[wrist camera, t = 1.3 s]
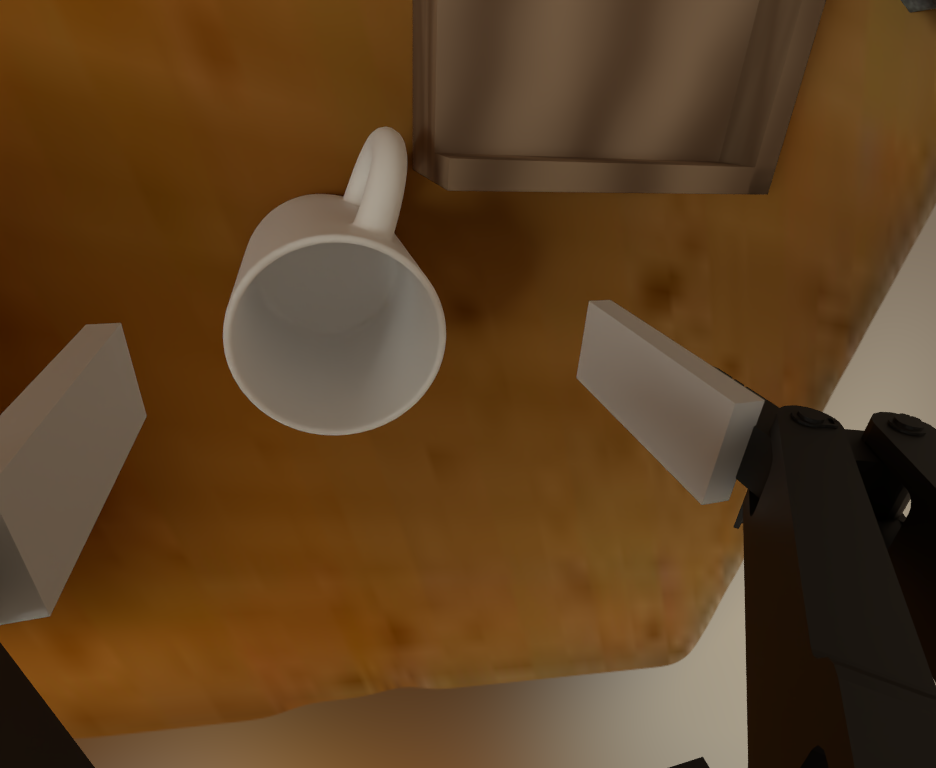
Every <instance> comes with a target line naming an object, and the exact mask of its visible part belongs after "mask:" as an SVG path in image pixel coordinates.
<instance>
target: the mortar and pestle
mask: <svg viewBox="0 0 936 768" xmlns="http://www.w3.org/2000/svg"><path fill="white" fill-rule="evenodd" d="M901 1H902V2H903V4H904V5H905V6H906V8H907V9H908V11H909V12H916V11H923V10H930V9H936V0H901Z"/></svg>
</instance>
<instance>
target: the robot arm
mask: <svg viewBox="0 0 936 768" xmlns="http://www.w3.org/2000/svg"><path fill="white" fill-rule="evenodd" d="M576 378H577V379H578V380H579V381H580V382H581V383H582V384H583V385H584V386H585V387H586V388H587V389H588V390H589V391H590V392H591V393H592V394H593V395H594V396H595V397H596V398H597V399H598V400H599V401H600V402H601V403H602V404H603V405H604V406H605V407H606V408H607V409H608V410H609V411H610V413H611V414H612V415H613V416H614V417H615V418H616V419H617V420H618V421H619V422H620V423H621V424H622V425H623V426H624V427H625V428H626V429H627V430H628V431H629V432H630V433H631V434H632V435H633V436H634V437H635V438H636V439H637V440H638V441H639V442H640V443H641V444H642V445H643V446H644V447H645V448H646V449H647V450H648V451H649V452H650V453H651V454H652V455H653V456H654V457H655V458H656V459H657V460H658V461H659V462H660V463H661V464H662V465H663V466H664V467H665V468H666V469H667V470H668V471H669V472H670V473H671V474H672V475H673V476H674V477H675V478H676V479H677V480H678V481H679V482H680V483H681V484H682V485H683V487H684V488H685V489H686V490H687V491H688V492H689V493H690V494H691V495H692V496H693V497H694V498H695V499H696V500H697V501H698V502H699V503H700V504H701V505H705V504H710V503H716V502H722V501H728V500H729V498H730V495H731V493H732V490H733V487H734V484H735V482H736V479H737V480H739V481H740V482H741V483H742V484H743V485H744V486H745V487H747V488H748V490H747V493H746V496H745V498H744V501H743V504H742V506H741V509H740V511H739V514H738V517H737V519H736V522H735V525H734V528H737V529H739V527H740V525H741V524H742V523H743V533H744V578H745V579H744V580H745V629H746V675H747V725H748V768H936V685H935V683H934V680H935V682H936V429H935V428H933V427H932V426H931V425H929V424H926V423H924V422H922V421H921V420H920V419H918V418H916V417H913V416H909V415H906V414H896V413H890V412H879V413H875V414H873V415H872V417H871V419H870V421H869V423H868V425H867V427H866V429H865V431H860V430H848V429H844V428H843V426H842V425H841V424H840V422H839V421H837V420H836V419H835V418H833V417H831V416H829V415H827V414H825V413H823V412H821V411H818V410H814V409H811V408H808V407H802V406H795V405H792V406H783V407H781V408H779V407H777V406H776V405H774V404H772V403H771V402H769V401H768V400H766V399H765V398H763V397H762V396H760V395H759V394H757V393H755V392H754V391H752V390H751V389H749V388H748V387H744V385H743V384H742V383H740V382H738V381H737V380H733V379H732V377H731V376H729V375H728V374H726V373H725V372H723V371H721V370H720V369H718V368H716V367H713V366H711V365H710V364H708V363H707V362H705V361H704V360H702V359H701V358H699V357H697V356H696V355H694V354H693V353H691V352H690V351H688V350H687V349H685V348H684V347H682V346H681V345H679V344H677V343H676V342H674V341H673V340H671V339H670V338H668V337H667V336H665V335H664V334H662V333H661V332H659V331H657V330H656V329H654V328H653V327H651V326H650V325H648V324H647V323H645V322H644V321H642V320H641V319H639V318H637V317H636V316H634V315H633V314H631V313H630V312H628V311H627V310H625V309H624V308H622V307H621V306H619V305H618V304H616V303H614V302H613V301H611V300H598V301H589V304H588V310H587V316H586V322H585V328H584V334H583V341H582V347H581V353H580V359H579V365H578V371H577V377H576ZM146 417H147V415H146V412H145V408H144V404H143V401H142V397H141V393H140V390H139V386H138V383H137V379H136V375H135V372H134V368H133V364H132V361H131V357H130V354H129V350H128V346H127V343H126V339H125V336H124V332H123V328H122V325H121V323H108V324H87V325H85V326H84V327H83V328H82V329H81V330H80V331H79V333H78V334H77V335H76V336H75V337H74V338H73V339H72V340H71V341H70V342H69V343H68V344H67V345H66V346H65V347H64V348H63V349H62V350H61V352H60V353H59V354H58V355H57V356H56V357H55V358H54V359H53V360H52V361H51V362H50V363H49V364H48V365H47V366H46V367H45V368H44V369H43V371H42V372H41V373H40V374H39V375H38V376H37V377H36V378H35V379H34V380H33V381H32V382H31V383H30V384H29V385H28V386H27V387H26V388H25V389H24V391H23V392H22V393H21V394H20V395H19V396H18V397H17V398H16V399H15V400H14V401H13V402H12V403H11V404H10V405H9V406H8V407H7V408H6V410H5V411H4V412H3V413H2V414H1V415H0V625H3V624H8V623H14V622H20V621H26V620H32V619H38V618H44V617H49V616H50V615H51V613H52V611H53V609H54V607H55V605H56V603H57V601H58V599H59V597H60V595H61V592H62V590H63V588H64V586H65V584H66V582H67V580H68V578H69V576H70V574H71V572H72V570H73V568H74V566H75V564H76V561H77V559H78V557H79V555H80V553H81V551H82V549H83V547H84V545H85V543H86V541H87V539H88V537H89V535H90V532H91V530H92V528H93V526H94V524H95V522H96V520H97V518H98V516H99V514H100V512H101V510H102V508H103V506H104V504H105V501H106V499H107V497H108V495H109V493H110V491H111V489H112V487H113V485H114V483H115V481H116V479H117V477H118V475H119V473H120V470H121V468H122V466H123V464H124V462H125V460H126V458H127V456H128V454H129V452H130V450H131V448H132V446H133V444H134V442H135V439H136V437H137V435H138V433H139V431H140V429H141V427H142V425H143V423H144V421H145V419H146ZM910 499H911V509H910V511H909V514H908V516H907V518H906V517H905V516H904V514H903V511H904V509H905V508H906V506H907V504H908V502H909V500H910ZM933 679H934V680H933ZM0 768H95V767H94V766H93V765H92V763H91V762H90V761H89V759H88V758H87V757H86V755H85V754H84V753H83V751H82V750H81V749H80V747H79V746H78V745H77V743H76V742H75V741H74V739H73V738H72V737H71V735H70V734H69V733H68V731H67V730H66V729H65V728H64V726H63V725H62V724H61V722H60V721H59V720H58V718H57V717H56V716H55V714H54V713H53V712H52V710H51V709H50V708H49V706H48V705H47V704H46V702H45V701H44V700H43V698H42V697H41V696H40V694H39V693H38V692H37V690H36V689H35V688H34V687H33V685H32V684H31V683H30V681H29V680H28V679H27V677H26V676H25V675H24V673H23V672H22V671H21V669H20V668H19V667H18V665H17V664H16V663H15V661H14V660H13V659H12V657H11V656H10V655H9V653H8V652H7V651H6V650H5V648H4V647H3V646H2V644H1V643H0ZM670 768H709V766H708V765H707V763H706V761H705V760H704V758H703V757H701V758H698V759H694V760H692V761H688V762H685V763H682V764H679V765H676V766H673V767H670Z"/></svg>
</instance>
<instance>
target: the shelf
mask: <svg viewBox="0 0 936 768" xmlns="http://www.w3.org/2000/svg"><path fill="white" fill-rule="evenodd" d="M825 2H826V0H413V170H415V171H416V172H418V173H420V174H421V175H423V176H425V177H426V178H428V179H430V180H431V181H433V182H435V183H436V184H438V185H440V186H441V187H443V188H444V189H446V190H448V191H519V192H604V193H688V194H768V191H769V188H770V185H771V182H772V178H773V175H774V172H775V168H776V165H777V162H778V158H779V155H780V152H781V148H782V145H783V142H784V138H785V135H786V132H787V128H788V125H789V122H790V118H791V115H792V112H793V108H794V105H795V102H796V98H797V95H798V92H799V88H800V85H801V82H802V78H803V75H804V72H805V68H806V65H807V62H808V58H809V55H810V52H811V48H812V45H813V42H814V38H815V35H816V32H817V28H818V25H819V22H820V18H821V15H822V12H823V9H824V5H825Z"/></svg>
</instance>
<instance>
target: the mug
mask: <svg viewBox="0 0 936 768" xmlns="http://www.w3.org/2000/svg"><path fill="white" fill-rule="evenodd" d="M406 175H407V151H406V146H405V142H404V140H403V138H402V137H401V135H400V134H399V133H398V132H397V131H396V130H394V129H393V128H391V127H381V128H377V129H376V130H375V131H373V132H372V133H371V134H370V135H369V137H368V138H367V140H366V142H365V144H364V146H363V148H362V150H361V152H360V154H359V157H358V159H357V161H356V164H355V167H354V169H353V172H352V175H351V177H350V180H349V183H348V186H347V188H346V191H345V194H344V197H343V196H338V195H331V194H310V195H305V196H300V197H297V198H294V199H291V200H289V201H287V202H285V203H283V204H281V205H279V206H278V207H276V208H275V209H274V210H272V211H271V212H270V213H269V214H268V215H267V216H266V217H265V218H264V219H263V220H262V221H261V222H260V224H259V225H258V226H257V228H256V229H255V231H254V233H253V234H252V236H251V238H250V240H249V243H248V245H247V248H246V251H245V254H244V257H243V260H242V263H241V266H240V269H239V272H238V275H237V278H236V282H235V285H234V288H233V291H232V294H231V297H230V300H229V303H228V306H227V309H226V314H225V319H224V324H223V344H224V352H225V356H226V360H227V363H228V366H229V369H230V371H231V373H232V376H233V378H234V379H235V381H236V383H237V384H238V386H239V387H240V389H241V390H242V392H243V393H244V394H245V395H246V396H247V398H248V399H249V400H250V401H251V402H252V403H253V404H254V405H255V406H256V407H257V408H258V409H260V410H261V411H262V412H264V413H265V414H266V415H268V416H269V417H271V418H272V419H274V420H276V421H278V422H280V423H282V424H284V425H286V426H289V427H291V428H294V429H297V430H300V431H304V432H307V433H313V434H320V435H349V434H355V433H361V432H364V431H368V430H372V429H375V428H377V427H380V426H382V425H385V424H387V423H389V422H390V421H392V420H394V419H396V418H398V417H399V416H401V415H402V414H403V413H405V412H406V411H408V410H409V409H410V408H411V407H412V406H413V405H415V404H416V403H417V402H418V401H419V399H420V398H421V397H422V396H423V395H424V394H425V393H426V391H427V390H428V388H429V387H430V386H431V384H432V382H433V381H434V379H435V377H436V375H437V373H438V371H439V368H440V365H441V363H442V359H443V355H444V351H445V344H446V323H445V317H444V312H443V308H442V305H441V302H440V299H439V297H438V295H437V293H436V291H435V289H434V287H433V286H432V284H431V283H430V281H429V280H428V278H427V277H426V275H425V274H424V273H423V272H422V270H421V269H420V267H419V266H418V265H417V263H416V262H415V260H414V259H413V258H412V257H411V255H410V254H409V252H408V251H407V250H406V248H405V247H404V245H403V244H402V243H401V241H400V240H399V239H398V237H397V236H396V235H395V233H394V231H395V228H396V224H397V221H398V217H399V213H400V209H401V204H402V200H403V195H404V189H405V183H406Z"/></svg>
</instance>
